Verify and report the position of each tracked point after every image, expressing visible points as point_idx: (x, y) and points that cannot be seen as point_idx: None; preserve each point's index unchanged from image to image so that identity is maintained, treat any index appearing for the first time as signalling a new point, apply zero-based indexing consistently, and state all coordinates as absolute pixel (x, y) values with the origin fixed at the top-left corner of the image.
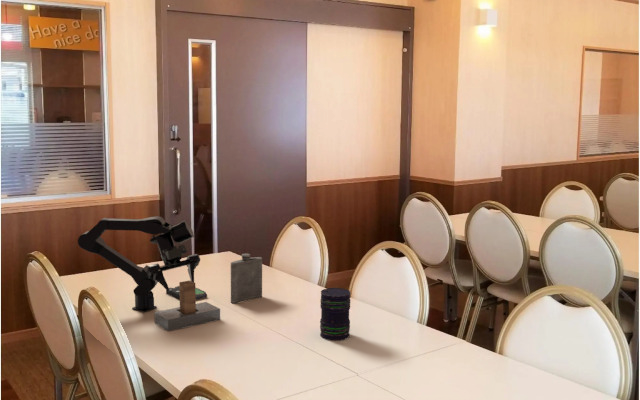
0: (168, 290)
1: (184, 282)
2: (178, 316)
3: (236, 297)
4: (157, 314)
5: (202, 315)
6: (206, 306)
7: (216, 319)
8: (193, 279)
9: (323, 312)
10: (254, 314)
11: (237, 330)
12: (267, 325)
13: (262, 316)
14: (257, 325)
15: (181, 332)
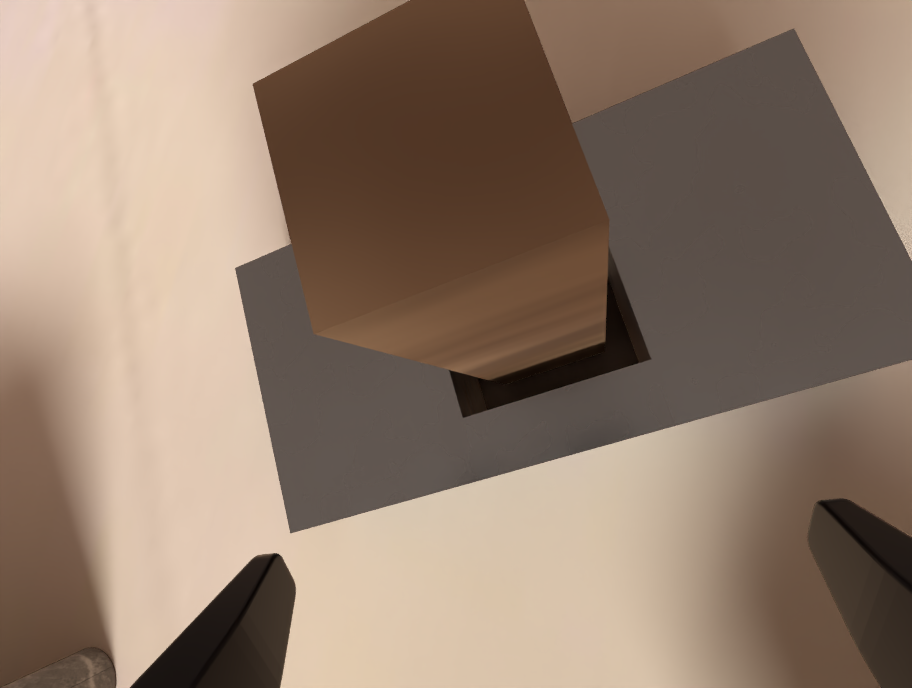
0: (826, 505)
1: (474, 168)
2: (654, 118)
3: (35, 672)
4: (909, 272)
5: None
6: (322, 371)
7: None
8: (210, 611)
9: None
10: (76, 337)
11: (257, 47)
12: (88, 108)
13: (53, 281)
14: (131, 119)
15: (637, 61)
